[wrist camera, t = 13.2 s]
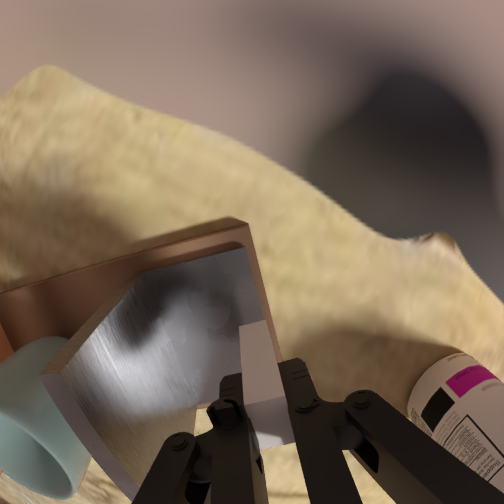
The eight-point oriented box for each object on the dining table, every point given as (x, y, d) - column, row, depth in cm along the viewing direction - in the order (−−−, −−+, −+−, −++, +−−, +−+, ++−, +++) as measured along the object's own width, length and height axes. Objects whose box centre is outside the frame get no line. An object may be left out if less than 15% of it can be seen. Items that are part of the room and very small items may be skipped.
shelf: (0, 409, 22) (-56, 483, 9) (-51, 310, 19) (-132, 365, 6) (286, 380, 22) (329, 533, 9) (248, 223, 19) (281, 307, 6)
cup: (123, 336, 19) (61, 439, 9) (123, 417, 21) (87, 514, 11) (30, 308, 18) (-55, 376, 8) (41, 389, 20) (-14, 465, 10)
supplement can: (456, 332, 22) (570, 426, 8) (477, 375, 24) (562, 456, 9) (390, 396, 23) (473, 522, 9) (421, 428, 25) (488, 527, 10)
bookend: (184, 402, 20) (164, 532, 9) (132, 274, 18) (37, 375, 7) (280, 383, 20) (313, 516, 10) (244, 245, 18) (264, 336, 7)
